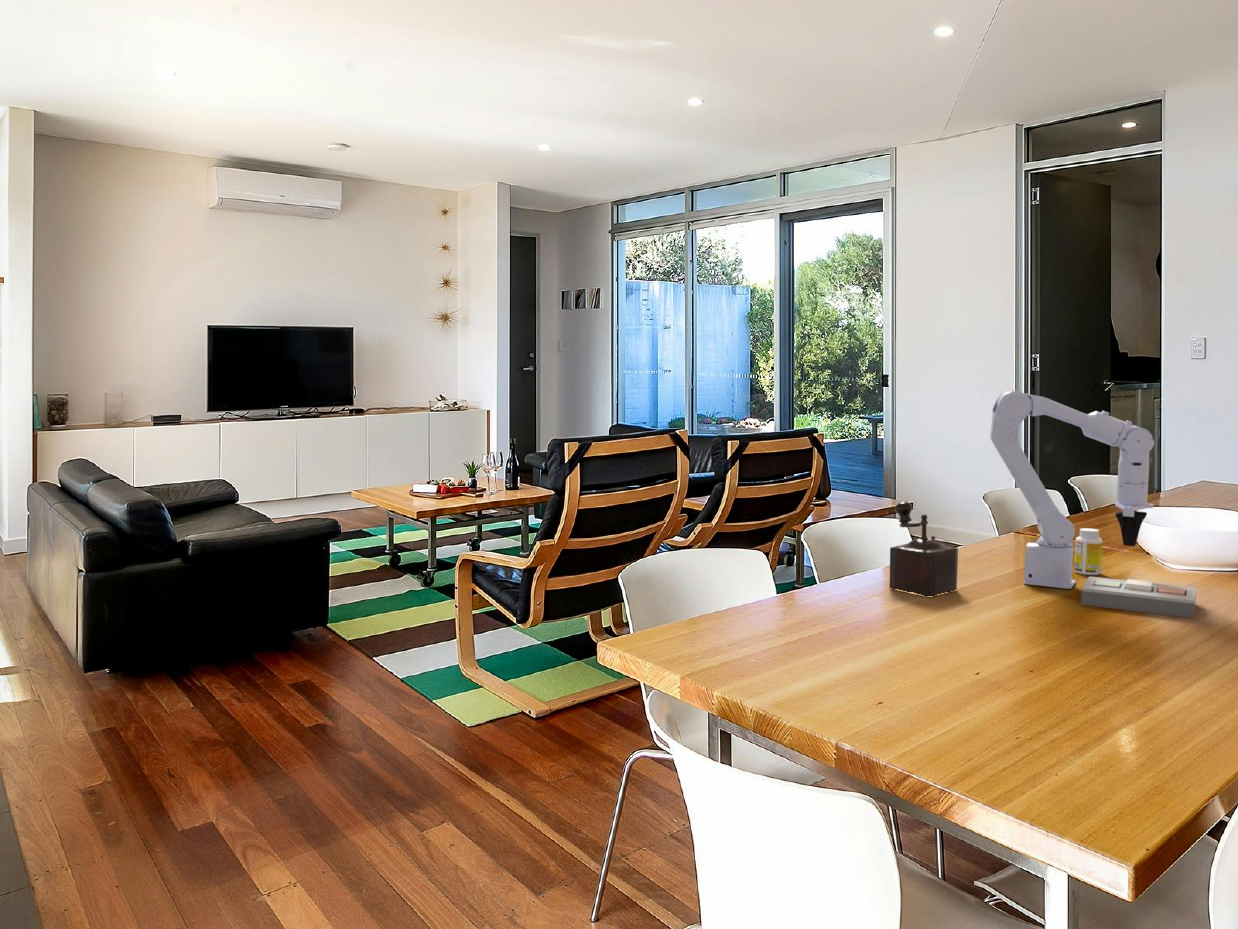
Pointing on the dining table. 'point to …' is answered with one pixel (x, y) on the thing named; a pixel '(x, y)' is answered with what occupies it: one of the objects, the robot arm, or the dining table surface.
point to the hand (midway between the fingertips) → (1129, 545)
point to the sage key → (1107, 584)
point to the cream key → (1139, 585)
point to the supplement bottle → (1088, 552)
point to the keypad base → (1139, 598)
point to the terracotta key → (1171, 591)
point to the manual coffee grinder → (922, 561)
